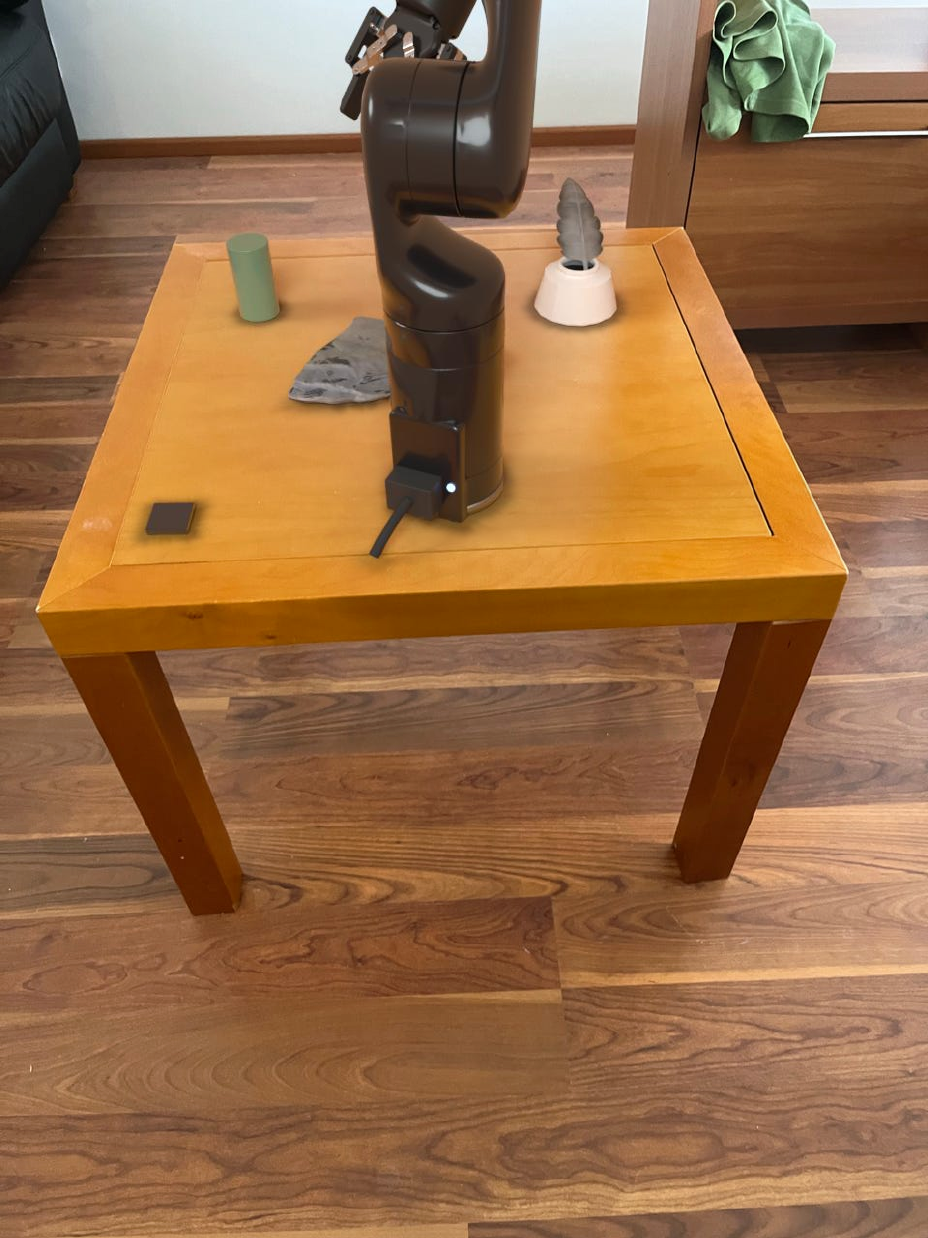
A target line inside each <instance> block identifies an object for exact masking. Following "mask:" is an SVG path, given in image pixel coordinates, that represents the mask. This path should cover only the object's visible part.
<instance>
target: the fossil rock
mask: <svg viewBox="0 0 928 1238" xmlns="http://www.w3.org/2000/svg"><path fill="white" fill-rule="evenodd" d="M287 394H288V395H287V397H288V399H289V400H291V401H294V402H298V403H306V404H307V403H308V404H309V403H311V404H312V403H318V404H319V403H321V404H322V403H323V404H328V405H340V404H341V405H342V404H350V403H358V404H359V403H360V404H361V403H363V404H364V403H369V402H374V401H379V400H380V401H381V400H385V399H387V398H390V388H389V376H388V363H387V351H386V337H385V325H384V319H380V318H377V317H376V318H374V317H368V316H356V317H354V318H353V319H352V320H351V321H350V322H349V325H348V326H347V328H346V329H345V330H344V331H342V332H341V333H340V334H338V335H336V336H335V337H334V338H333V339H332V340H330V341H329V342H327V343H326V344H325V345H323V346H322V347H321V348H319V349H318V350H316V351H315V352H314V354H313V355H312V357H311V358H310V359H309V360H308V361H307V362H306V363H305V364H304V365H303V367H302V369H301V370H300V372H299V373H298V374H297V375H296V376H295V377H294V379H293V382H292V385H291V388H290V389H289V391H288V393H287Z"/></svg>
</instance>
